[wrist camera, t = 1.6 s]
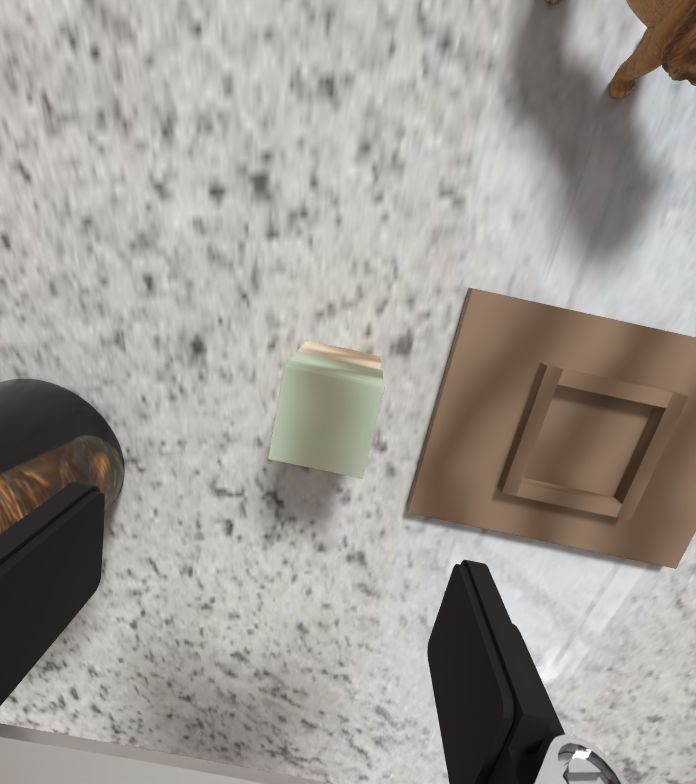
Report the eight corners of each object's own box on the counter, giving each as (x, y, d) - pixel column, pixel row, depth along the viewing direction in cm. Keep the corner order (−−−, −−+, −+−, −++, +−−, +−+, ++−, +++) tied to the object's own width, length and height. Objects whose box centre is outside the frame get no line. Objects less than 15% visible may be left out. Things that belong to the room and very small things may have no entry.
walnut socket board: (771, 354, 27) (803, 360, 25) (666, 559, 31) (686, 578, 29) (469, 287, 26) (477, 289, 24) (406, 504, 31) (409, 520, 29)
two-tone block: (379, 356, 28) (384, 388, 20) (363, 424, 29) (362, 478, 22) (306, 340, 28) (283, 366, 20) (294, 409, 29) (268, 458, 21)
